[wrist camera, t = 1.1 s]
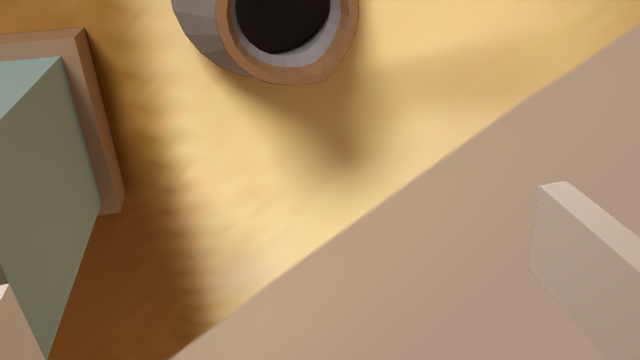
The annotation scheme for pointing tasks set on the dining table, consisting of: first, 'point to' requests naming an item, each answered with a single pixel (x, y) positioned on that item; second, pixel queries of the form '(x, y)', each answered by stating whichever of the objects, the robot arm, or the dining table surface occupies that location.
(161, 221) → the dining table surface
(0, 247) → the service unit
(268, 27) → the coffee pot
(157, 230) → the dining table surface
